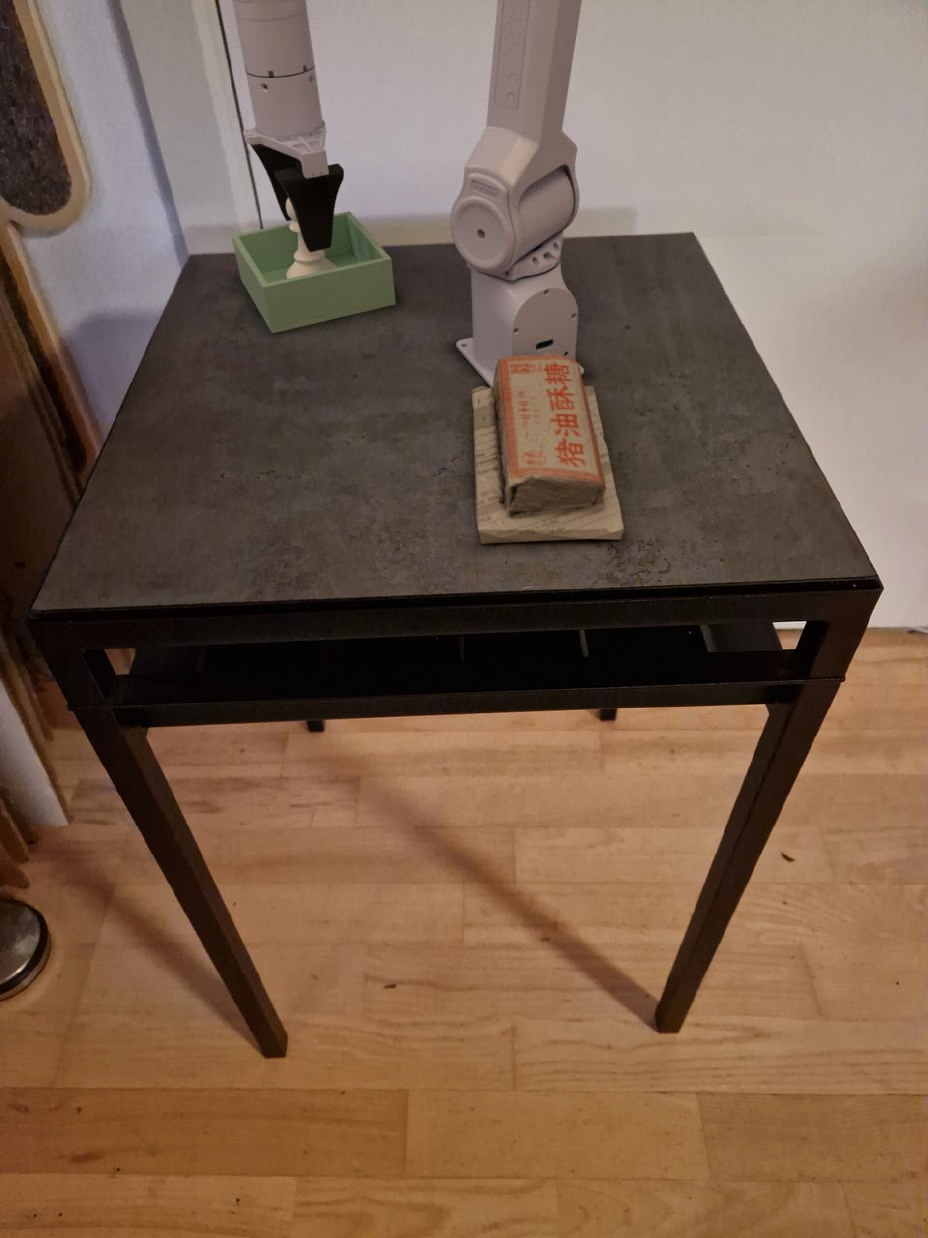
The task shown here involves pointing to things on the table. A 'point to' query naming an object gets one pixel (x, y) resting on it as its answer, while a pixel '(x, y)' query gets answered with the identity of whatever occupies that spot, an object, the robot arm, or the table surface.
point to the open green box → (314, 275)
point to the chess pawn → (305, 253)
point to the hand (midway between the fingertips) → (307, 232)
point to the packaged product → (541, 455)
